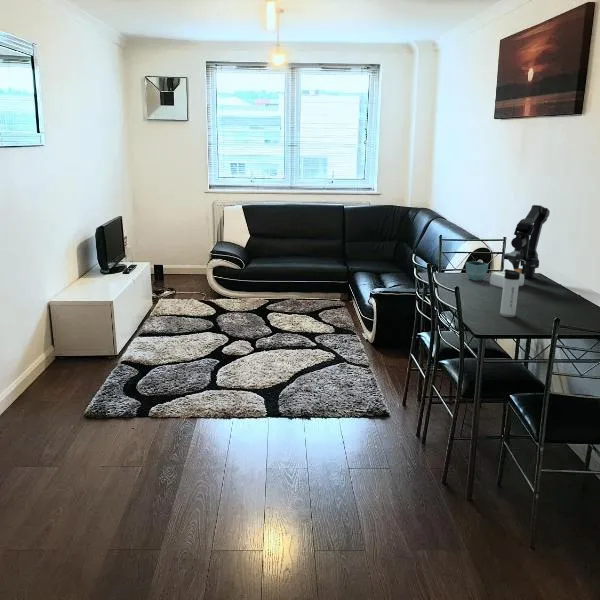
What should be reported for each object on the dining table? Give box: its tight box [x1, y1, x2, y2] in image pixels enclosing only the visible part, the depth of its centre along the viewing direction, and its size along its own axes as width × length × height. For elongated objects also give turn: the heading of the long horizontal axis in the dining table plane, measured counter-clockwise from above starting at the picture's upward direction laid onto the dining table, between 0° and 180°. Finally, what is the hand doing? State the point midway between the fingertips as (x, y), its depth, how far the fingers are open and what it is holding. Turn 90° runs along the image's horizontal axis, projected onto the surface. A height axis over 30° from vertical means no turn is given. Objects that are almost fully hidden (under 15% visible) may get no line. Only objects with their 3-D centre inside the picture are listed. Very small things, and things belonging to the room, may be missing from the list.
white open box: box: [489, 274, 525, 289], centre depth 320 cm, size 14×10×5 cm
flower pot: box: [465, 260, 489, 281], centre depth 329 cm, size 9×9×9 cm
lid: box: [490, 267, 524, 278], centre depth 320 cm, size 18×10×2 cm, turn 121°
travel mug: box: [499, 269, 520, 318], centre depth 265 cm, size 6×7×20 cm
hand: (519, 275), depth 324 cm, fingers open, 4 cm apart
